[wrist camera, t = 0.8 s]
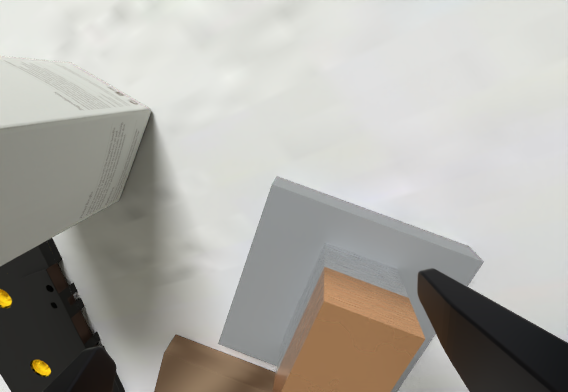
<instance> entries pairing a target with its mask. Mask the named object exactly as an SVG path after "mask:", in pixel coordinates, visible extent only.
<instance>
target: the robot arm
mask: <svg viewBox="0 0 568 392" xmlns="http://www.w3.org/2000/svg"><path fill="white" fill-rule="evenodd" d="M417 293H418V297H419V300H420V302H421V304H422V306H423V308H424V310H425V312H426V314H427V316H428V318H429V320H430V322H431V324H432V326H433V328H434V330H435V332H436V334H437V337H438V339H439V341H440V343H441V345H442V347H443V348H444V350H445V352H446V354H447V356H448V357H449V359H450V361H451V362H452V364H453V366H454V367H455V369H456V370H457V372H458V374H459V375H460V377H461V379H462V380H463V382H464V383H465V385H466V387H467V388H468V390H469V391H470V392H568V343H567V342H565V341H564V340H562V339H560V338H558V337H556V336H555V335H553V334H551V333H549V332H547V331H546V330H544V329H542V328H540V327H539V326H537V325H535V324H533V323H531V322H530V321H528V320H526V319H524V318H522V317H521V316H519V315H517V314H515V313H513V312H512V311H510V310H508V309H506V308H505V307H503V306H501V305H499V304H497V303H496V302H494V301H492V300H490V299H488V298H487V297H485V296H483V295H481V294H479V293H478V292H476V291H474V290H472V289H471V288H469V287H467V286H465V285H463V284H462V283H460V282H458V281H456V280H454V279H453V278H451V277H449V276H447V275H445V274H444V273H442V272H440V271H438V270H436V269H434V268H429V269H425V270H421V271H419V272H418V279H417ZM115 375H116V364H115V362H114V361H113V359H112V358H111V357H110V356H109V354H108V353H107V352H106V350H105V349H104V348H103V347H101V346H96V347H92V348H88V349H85V350H83V351H82V352H81V353H80V354H79V355H78V356H77V357H76V358H75V359H74V360H73V361H72V362H71V363H70V364H69V365H68V366H67V367H66V368H65V369H64V370H63V371H62V372H61V373H60V374H59V375H58V376H57V377H56V378H55V379H54V380H53V381H52V382H51V383H50V384H49V385H48V386H47V387H46V388H45V389H44V390H43V391H42V392H112V391H113V386H114V380H115Z"/></svg>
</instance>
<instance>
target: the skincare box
mask: <svg viewBox="0 0 568 392" xmlns="http://www.w3.org/2000/svg"><path fill="white" fill-rule="evenodd" d="M150 114H151V110H150V108H148V107H147V106H145V105H143V104H142V103H140V102H138V101H136V100H135V99H133V98H131V97H130V96H128V95H126V94H125V93H123V92H121V91H120V90H118V89H116V88H115V87H113V86H111V85H109V84H108V83H106V82H104V81H103V80H101V79H99V78H97V77H96V76H94V75H92V74H90V73H89V72H87V71H85V70H84V69H82V68H80V67H78V66H77V65H75V64H73V63H71V62H61V61H49V60H39V59H28V58H16V57H5V56H0V266H2V265H4V264H5V263H7V262H9V261H11V260H13V259H14V258H16V257H18V256H20V255H22V254H23V253H25V252H27V251H29V250H31V249H32V248H34V247H36V246H38V245H40V244H41V243H43V242H45V241H47V240H49V239H51V238H52V237H54V236H56V235H58V234H59V233H61V232H63V231H65V230H67V229H68V228H70V227H72V226H74V225H76V224H77V223H79V222H81V221H83V220H85V219H86V218H88V217H90V216H92V215H93V214H95V213H97V212H99V211H101V210H103V209H104V208H106V207H108V206H110V205H112V204H113V203H115V202H117V201H119V199H120V197H121V194H122V191H123V188H124V186H125V183H126V180H127V178H128V175H129V172H130V170H131V167H132V164H133V161H134V159H135V156H136V153H137V150H138V148H139V145H140V142H141V139H142V136H143V133H144V131H145V128H146V125H147V123H148V120H149V117H150Z"/></svg>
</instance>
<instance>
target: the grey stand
mask: <svg viewBox="0 0 568 392" xmlns="http://www.w3.org/2000/svg"><path fill="white" fill-rule="evenodd" d="M325 242H326V243H328V244H331V245H334V246H336V247H339V248H342V249H345V250H347V251H350V252H353V253H355V254H358V255H361V256H364V257H366V258H369V259H372V260H374V261H377V262H380V263H383V264H385V265H388V266H391V267H393V268H396V269H397V270H398V272H399V275H400V277H401V280H402V282H403V285H404V287H405V290H406V292H407V294H408V297H409V299H410V302H411V304H412V307H413V309H414V312H415V314H416V317H417V319H418V322H419V324H420V327H421V329H422V332H423V334H424V337H425V341H424V342H423V344H422V345H421V347H420V348H419V350H418V351H417V353H416V354H415V356H414V357H413V359H412V360H411V362H410V363H409V365H408V366H407V368H406V369H405V371H404V372H403V374H402V375H401V377H400V378H399V380H398V381H397V383H396V384H395V386H394V387H393V389H392V391H391V392H397V391H398V389H399V388H400V386H401V385H402V383H403V382H404V380H405V379H406V377H407V376H408V374H409V373H410V371H411V370H412V368H413V367H414V365H415V364H416V362H417V361H418V359H419V358H420V356H421V355H422V353H423V352H424V350H425V349H426V347H427V346H428V344H429V343H430V341H431V340H432V338H433V337H434V335H435V334H436V332H435V330H434V328H433V326H432V324H431V322H430V320H429V318H428V316H427V314H426V312H425V310H424V308H423V306H422V304H421V302H420V300H419V297H418V293H417V279H418V272H419V271H421V270H425V269H429V268H434V269H436V270H438V271H440V272H442V273H444V274H445V275H447V276H449V277H451V278H453V279H454V280H456V281H458V282H460V283H462V284H463V285H465V286H468V285H469V283H470V282H471V280H472V279H473V277H474V276H475V274H476V273H477V271H478V270H479V268H480V267H481V265H482V264H483V262H484V261H483V260H482V259H481V258H480V257H479V256H478V255H477V254H476V253H475V252H474V251H473V250H472V249H471V248H470V247H469V246H466V245H464V244H461V243H458V242H456V241H453V240H450V239H447V238H445V237H442V236H439V235H436V234H434V233H431V232H428V231H425V230H423V229H420V228H417V227H414V226H412V225H409V224H406V223H403V222H401V221H398V220H395V219H392V218H390V217H387V216H384V215H382V214H379V213H376V212H373V211H371V210H368V209H365V208H362V207H360V206H357V205H354V204H351V203H349V202H346V201H343V200H340V199H338V198H335V197H332V196H329V195H327V194H324V193H321V192H318V191H316V190H313V189H310V188H308V187H305V186H302V185H299V184H297V183H294V182H291V181H288V180H286V179H283V178H280V177H276V179H275V180H274V182H273V183H272V186H271V189H270V192H269V195H268V198H267V201H266V203H265V206H264V209H263V212H262V215H261V218H260V221H259V224H258V227H257V230H256V233H255V236H254V239H253V242H252V245H251V248H250V251H249V254H248V257H247V260H246V263H245V266H244V269H243V272H242V275H241V278H240V281H239V284H238V287H237V290H236V293H235V296H234V298H233V301H232V304H231V307H230V310H229V313H228V316H227V319H226V322H225V325H224V328H223V331H222V334H221V337H220V340H219V343H218V344H220V345H223V346H225V347H228V348H231V349H233V350H236V351H238V352H241V353H244V354H246V355H249V356H252V357H254V358H257V359H260V360H262V361H265V362H267V363H270V364H273V365H275V366H277V364H278V358H279V353H280V348H281V342H282V339H283V337H284V335H285V333H286V330H287V328H288V326H289V323H290V321H291V319H292V316H293V314H294V312H295V310H296V307H297V305H298V303H299V300H300V298H301V296H302V294H303V291H304V289H305V287H306V284H307V282H308V280H309V277H310V275H311V273H312V271H313V268H314V266H315V264H316V261H317V259H318V257H319V254H320V252H321V250H322V248H323V245H324V243H325Z"/></svg>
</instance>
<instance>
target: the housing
mask: <svg viewBox="0 0 568 392" xmlns="http://www.w3.org/2000/svg"><path fill="white" fill-rule="evenodd" d="M424 341H425V337H424V334H423V332H422V329H421V327H420V324H419V322H418V319H417V317H416V314H415V312H414V309H413V307H412V304H411V302H410V299H409V297H408V294H407V292H406V290H405V287H404V285H403V282H402V280H401V277H400V275H399V272H398V270H397V269H396V268H393V267H391V266H388V265H385V264H383V263H380V262H377V261H374V260H372V259H369V258H366V257H364V256H361V255H358V254H355V253H353V252H350V251H347V250H345V249H342V248H339V247H336V246H334V245H331V244H328V243H326V242H325V243H324V245H323V248H322V250H321V252H320V254H319V257H318V259H317V261H316V264H315V266H314V268H313V271H312V273H311V275H310V277H309V280H308V282H307V284H306V287H305V289H304V291H303V294H302V296H301V298H300V300H299V303H298V305H297V307H296V310H295V312H294V314H293V316H292V319H291V321H290V323H289V326H288V328H287V330H286V333H285V335H284V337H283V339H282V342H281V348H280V353H279V358H278V364H277V369H276V375H275V380H274V385H273V391H272V392H391V391H392V389H393V387H394V386H395V384H396V383H397V381H398V380H399V378H400V377H401V375H402V374H403V372H404V371H405V369H406V368H407V366H408V365H409V363H410V362H411V360H412V359H413V357H414V356H415V354H416V353H417V351H418V350H419V348H420V347H421V345H422V344H423V342H424Z"/></svg>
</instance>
